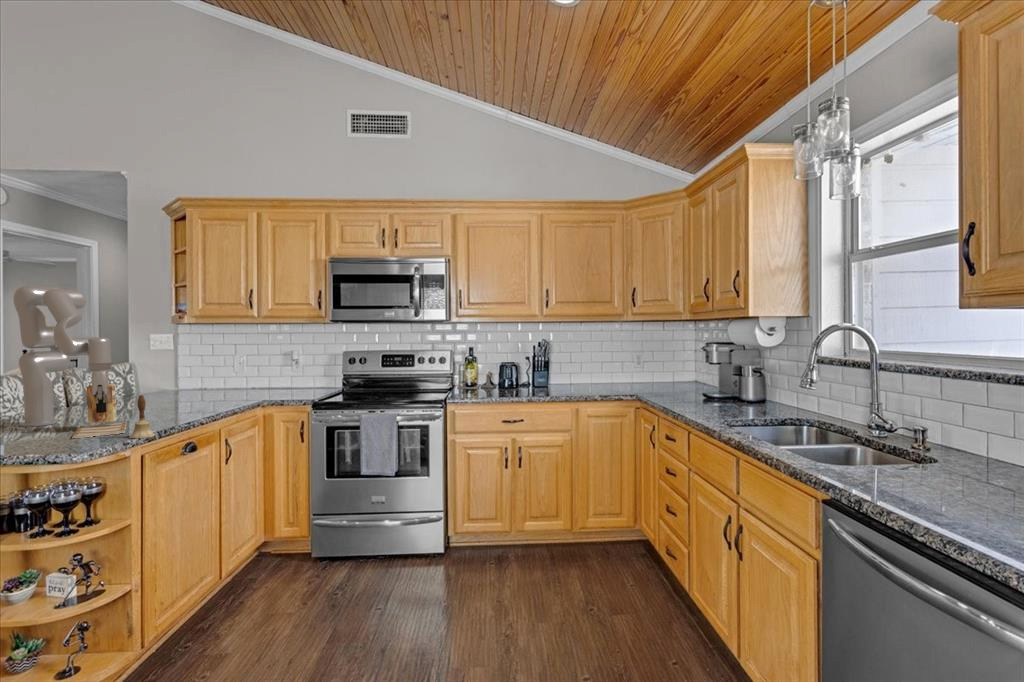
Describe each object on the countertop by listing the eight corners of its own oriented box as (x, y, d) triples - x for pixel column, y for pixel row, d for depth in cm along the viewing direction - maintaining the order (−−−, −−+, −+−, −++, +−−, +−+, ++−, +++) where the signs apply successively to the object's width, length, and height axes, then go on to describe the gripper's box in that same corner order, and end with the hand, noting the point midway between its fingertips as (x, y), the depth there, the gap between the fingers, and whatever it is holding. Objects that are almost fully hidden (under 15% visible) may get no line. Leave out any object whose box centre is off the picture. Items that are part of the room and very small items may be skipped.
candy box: (116, 420, 228) (115, 383, 227) (113, 421, 224) (112, 384, 224) (91, 422, 225) (89, 385, 224) (87, 423, 221) (86, 386, 220)
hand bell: (160, 434, 213) (158, 393, 212) (146, 438, 205) (144, 396, 204) (138, 434, 213) (137, 393, 212) (124, 439, 205) (122, 397, 204)
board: (79, 429, 224) (79, 426, 223) (127, 425, 232) (126, 421, 232) (72, 439, 205) (72, 435, 205) (124, 433, 214) (124, 430, 214)
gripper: (90, 366, 229) (92, 409, 229) (86, 369, 214) (88, 415, 215) (112, 365, 233) (114, 408, 233) (110, 368, 218) (111, 413, 219)
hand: (102, 411), depth 224 cm, fingers closed on candy box, 4 cm apart
